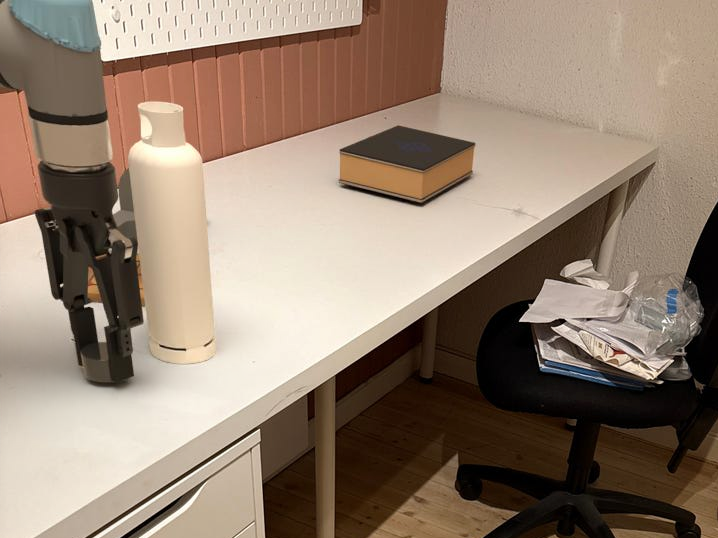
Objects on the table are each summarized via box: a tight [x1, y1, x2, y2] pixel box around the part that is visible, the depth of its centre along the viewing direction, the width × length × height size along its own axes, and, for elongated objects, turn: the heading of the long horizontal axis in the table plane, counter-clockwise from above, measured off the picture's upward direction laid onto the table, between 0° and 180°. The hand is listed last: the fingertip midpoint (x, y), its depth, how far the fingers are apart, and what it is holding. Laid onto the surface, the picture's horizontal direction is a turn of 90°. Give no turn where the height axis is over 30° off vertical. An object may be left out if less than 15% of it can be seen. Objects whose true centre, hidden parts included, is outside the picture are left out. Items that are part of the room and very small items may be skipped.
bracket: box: [113, 167, 138, 242], centre depth 148 cm, size 10×18×11 cm, turn 169°
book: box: [338, 125, 476, 204], centre depth 186 cm, size 17×25×7 cm
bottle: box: [127, 101, 217, 365], centre depth 114 cm, size 8×8×28 cm
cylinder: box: [81, 341, 113, 383], centre depth 113 cm, size 5×5×3 cm
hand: (106, 370), depth 114 cm, fingers closed on cylinder, 5 cm apart
